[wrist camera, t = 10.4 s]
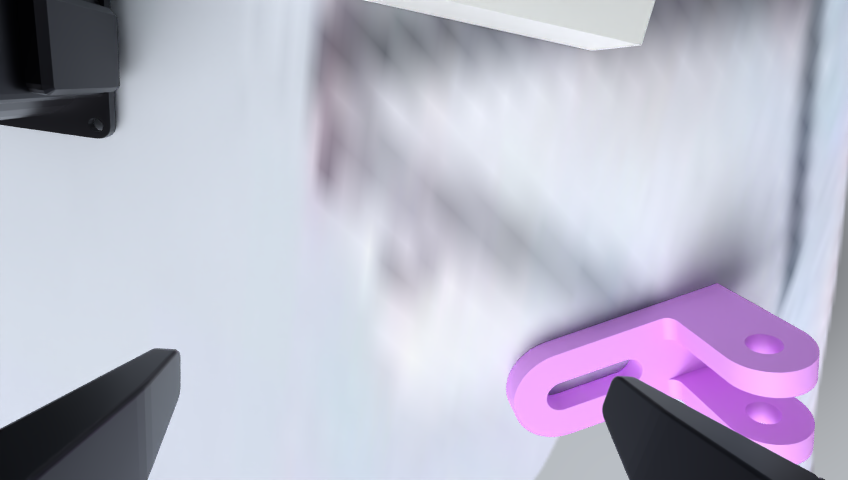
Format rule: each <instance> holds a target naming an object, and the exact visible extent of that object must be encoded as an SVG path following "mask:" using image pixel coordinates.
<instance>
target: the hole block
mask: <svg viewBox="0 0 848 480" xmlns="http://www.w3.org/2000/svg"><path fill="white" fill-rule="evenodd" d="M365 1H370V2H374V3H379V4H383V5H388V6H392V7H397V8H401V9H406V10H410V11H415V12H419V13H424V14H428V15H433V16H437V17H442V18H446V19H451V20H455V21H460V22H464V23H469V24H473V25H478V26H483V27H487V28H492V29H496V30H501V31H505V32H510V33H514V34H519V35H523V36H528V37H532V38H537V39H541V40H546V41H550V42H555V43H559V44H564V45H568V46H573V47H577V48H582V49H586V50H591V51H595V50H604V49H613V48H621V47H630V46H639V45H642V42H643V39H644V35H645V32H646V29H647V26H648V22H649V19H650V16H651V13H652V9H653V6H654V3H655V0H365Z"/></svg>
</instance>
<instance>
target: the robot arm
mask: <svg viewBox="0 0 848 480" xmlns="http://www.w3.org/2000/svg"><path fill="white" fill-rule="evenodd" d="M119 86H120V80H119V57H118V34H117V17H116V16H115V14H114V13H113V12H112V11H111V10H110V0H0V125H6V126H13V127H20V128H27V129H34V130H41V131H48V132H55V133H62V134H69V135H76V136H83V137H90V138H105V137H108V136H111V135H112V134H113V133H114V132H115V128H116V121H115V100H114V91H115V90H116V89H117V88H118V87H119ZM95 119H99V120H100V121H101V122H102V123H103V130H98V129H97V128H96V127H95V125H94V120H95ZM179 393H180V353H179V352H178V351H177V350H175V349H160V348H155V349H152V350H150V351H148V352H146V353H144V354H142V355H140V356H138V357H136V358H135V359H133V360H131V361H129V362H127V363H125V364H123V365H121V366H119V367H117V368H115V369H114V370H112V371H110V372H108V373H106V374H104V375H102V376H100V377H98V378H96V379H94V380H93V381H91V382H89V383H87V384H85V385H83V386H81V387H79V388H77V389H75V390H73V391H72V392H70V393H68V394H66V395H64V396H62V397H60V398H58V399H56V400H54V401H52V402H51V403H49V404H47V405H45V406H43V407H41V408H39V409H37V410H35V411H33V412H31V413H30V414H28V415H26V416H24V417H22V418H20V419H18V420H16V421H14V422H12V423H10V424H9V425H7V426H5V427H3V428H1V429H0V480H147V479H148V477H149V474H150V472H151V469H152V467H153V464H154V461H155V459H156V456H157V454H158V451H159V448H160V446H161V443H162V440H163V438H164V435H165V433H166V430H167V427H168V425H169V422H170V419H171V417H172V414H173V412H174V409H175V406H176V404H177V401H178V398H179ZM602 413H603V417H604V420H605V422H606V424H607V427H608V430H609V432H610V434H611V437H612V439H613V442H614V444H615V446H616V449H617V451H618V454H619V456H620V458H621V461H622V463H623V465H624V468H625V471H626V473H627V475H628V477H629V480H825V479H823V478H818V477H817V476H816V475H815V474H813V473H812V472H810V471H808V470H806V469H804V468H802V467H800V466H798V465H797V464H795V463H793V462H791V461H789V460H787V459H785V458H784V457H782V456H780V455H778V454H776V453H774V452H772V451H771V450H769V449H767V448H765V447H763V446H761V445H759V444H758V443H756V442H754V441H752V440H750V439H748V438H746V437H745V436H743V435H741V434H739V433H737V432H735V431H733V430H732V429H730V428H728V427H726V426H724V425H722V424H720V423H719V422H717V421H715V420H713V419H711V418H709V417H707V416H706V415H704V414H702V413H700V412H698V411H696V410H694V409H693V408H691V407H689V406H687V405H685V404H683V403H681V402H680V401H678V400H676V399H674V398H672V397H670V396H668V395H667V394H665V393H663V392H661V391H659V390H657V389H655V388H653V387H652V386H650V385H648V384H646V383H644V382H642V381H640V380H639V379H637V378H635V377H630V376H616V377H614V378H613V380H612V381H611V384H610V387H609V389H608V392H607V395H606V397H605V400H604V403H603V406H602Z"/></svg>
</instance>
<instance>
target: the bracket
mask: <svg viewBox="0 0 848 480" xmlns="http://www.w3.org/2000/svg"><path fill="white" fill-rule="evenodd" d="M625 360H629V361H628V363H627V365H626V366H625V367H624V368H623V369H622V370H621V371H619V372H617V373H614V374H611V375H609V376H606V377H603V378H600V379H597V380H594V381H591V382H589V383H586V384H583V385H580V386H577V387H574V388H571V389H568V390H566V391H563V392H560V393H557V394H554V395H548V393H549V391H550V390H551V389H552V388H553V387H554V386H555V385H557V384H559V383H562V382H565V381H568V380H571V379H573V378H576V377H579V376H582V375H585V374H588V373H591V372H594V371H596V370H599V369H602V368H605V367H608V366H611V365H614V364H617V363H619V362H622V361H625ZM818 367H819V347H818V345H817V343H816V342H815V341H814V339H813V338H812V337H810V336H809V335H808V334H807V333H805V332H803V331H802V330H800V329H798V328H796V327H795V326H793V325H791V324H789V323H788V322H786V321H784V320H782V319H780V318H779V317H777V316H775V315H773V314H772V313H770V312H768V311H766V310H764V309H763V308H761V307H759V306H757V305H755V304H754V303H752V302H750V301H748V300H747V299H745V298H743V297H741V296H739V295H738V294H736V293H734V292H732V291H731V290H729V289H727V288H725V287H723V286H722V285H720V284H718V283H716V284H713V285H710V286H707V287H704V288H702V289H699V290H696V291H693V292H690V293H687V294H684V295H681V296H678V297H675V298H672V299H670V300H667V301H664V302H661V303H658V304H655V305H652V306H649V307H646V308H643V309H640V310H638V311H635V312H632V313H629V314H626V315H623V316H620V317H617V318H614V319H611V320H608V321H606V322H603V323H600V324H597V325H594V326H591V327H588V328H585V329H582V330H579V331H577V332H574V333H571V334H568V335H565V336H562V337H559V338H556V339H553V340H550V341H547V342H545V343H542V344H540V345H537V346H535V347H534V348H532V349H530V350H529V351H528V352H526V353H525V354H524V355H523V356H522V357H521V358H520V359H519V360H518V361H517V362H516V364H515V365H514V366H513V368H512V370H511V372H510V374H509V377H508V380H507V386H506V392H507V398H508V401H509V403H510V405H511V407H512V409H513V411H514V413H515V415H516V417H517V419H518V421H519V423H520V424H521V425H522V426H523V427H524V428H525V429H527V430H528V431H530V432H532V433H534V434H536V435H540V436H546V437H557V436H563V435H567V434H570V433H573V432H576V431H579V430H582V429H585V428H587V427H590V426H593V425H596V424H599V423H602V422H605V420H604V417H603V413H602V406H603V403H604V400H605V397H606V395H607V392H608V389H609V387H610V384H611V381H612V380H613V378H614V377H616V376H630V377H635V378H637V379H639V380H640V381H642V382H644V383H646V384H648V385H650V386H652V387H653V388H655V389H657V390H659V391H661V392H663V393H665V394H667V395H668V396H670V397H672V398H676V399H679V400H682V401H683V402H684V403H685V404H686V405H687V406H689V407H691V408H693V409H694V410H696V411H698V412H700V413H702V414H704V415H706V416H707V417H709V418H711V419H713V420H715V421H717V422H719V423H720V424H722V425H724V426H726V427H728V428H730V429H732V430H733V431H735V432H737V433H739V434H741V435H743V436H745V437H746V438H748V439H750V440H752V441H754V442H756V443H758V444H759V445H761V446H763V447H765V448H767V449H769V450H771V451H772V452H774V453H776V454H778V455H780V456H782V457H784V458H785V459H787V460H789V461H791V462H793V463H795V464H800V463H802V462H804V461H805V460H807V459H808V458H809V457H810V455H811V454H812V451H813V444H814V428H815V422H814V418H813V416H812V414H811V412H810V411H809V409H808V408H807V407H806V406H805V405H804V404H803V403H802V402H800V401H799V400H798V399H796V398H795V397H796V396H800V395H803V394H805V393H807V392H809V391H810V390H812V389H813V388H814V386H815V385H816V383H817V380H818ZM763 423H765V424H763Z"/></svg>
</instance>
